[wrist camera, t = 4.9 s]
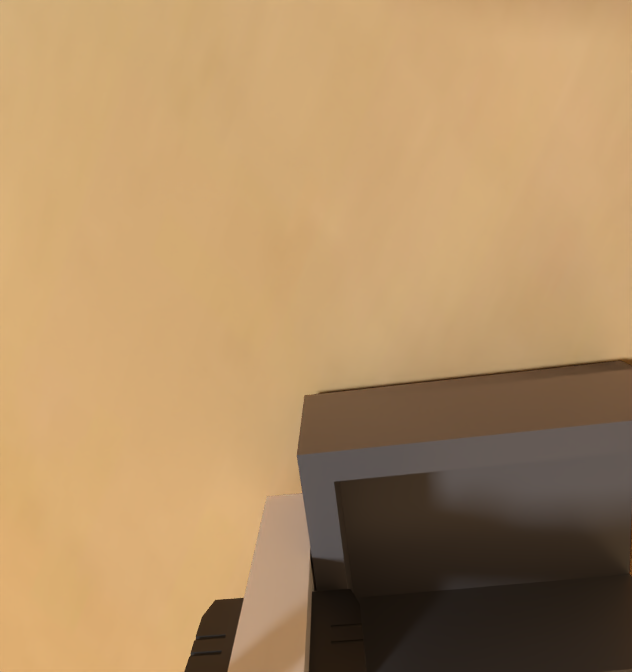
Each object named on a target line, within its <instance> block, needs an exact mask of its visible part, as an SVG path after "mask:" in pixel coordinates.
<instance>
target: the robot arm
mask: <svg viewBox="0 0 632 672" xmlns="http://www.w3.org/2000/svg"><path fill="white" fill-rule="evenodd" d="M185 672H367V668H366V657H365V647H364V637H363V627H362V618H361V608H360V603H359V602H358V600H357V598H356V597H355V595H354V593H353V592H352V590H351V589H340V590H326V591H317V588H316V581H315V575H314V568H313V561H312V554H311V548H310V541H309V534H308V527H307V520H306V514H305V507H304V500H303V493H300V494H288V495H277V496H267V497H266V502H265V506H264V511H263V515H262V520H261V524H260V529H259V533H258V538H257V542H256V547H255V551H254V555H253V560H252V564H251V569H250V573H249V578H248V582H247V587H246V591H245V596H244V598H237V599H223V600H215V601H214V602H213V604H212V605H211V606H210V607H209V609H208V610H207V611H206V613H205V614H204V615H203V617H202V619H201V622H200V625H199V628H198V631H197V634H196V640H195V641H194V644H193V647H192V650H191V656H190V657H189V659H188V663H187V666H186V669H185Z"/></svg>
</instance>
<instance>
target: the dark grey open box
mask: <svg viewBox="0 0 632 672" xmlns="http://www.w3.org/2000/svg"><path fill="white" fill-rule="evenodd" d="M297 459H298V466H299V473H300V480H301V486H302V493H303V500H304V507H305V514H306V520H307V527H308V534H309V541H310V548H311V554H312V561H313V568H314V575H315V581H316V588H317V591H326V590H340V589H351V590H352V592H353V593H354V595H355V597H356V598H357V600H358V602H359V603H360V608H361V618H362V627H363V637H364V647H365V657H366V668H367V672H632V576H631V575H630V547H631V520H632V366H631V365H629V364H626V363H624V362H622V361H613V362H604V363H595V364H586V365H577V366H568V367H559V368H550V369H541V370H531V371H522V372H513V373H504V374H495V375H486V376H477V377H468V378H459V379H450V380H441V381H432V382H422V383H413V384H404V385H395V386H386V387H377V388H368V389H359V390H350V391H341V392H332V393H323V394H314V395H305V397H304V404H303V412H302V420H301V427H300V435H299V443H298V451H297Z"/></svg>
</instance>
